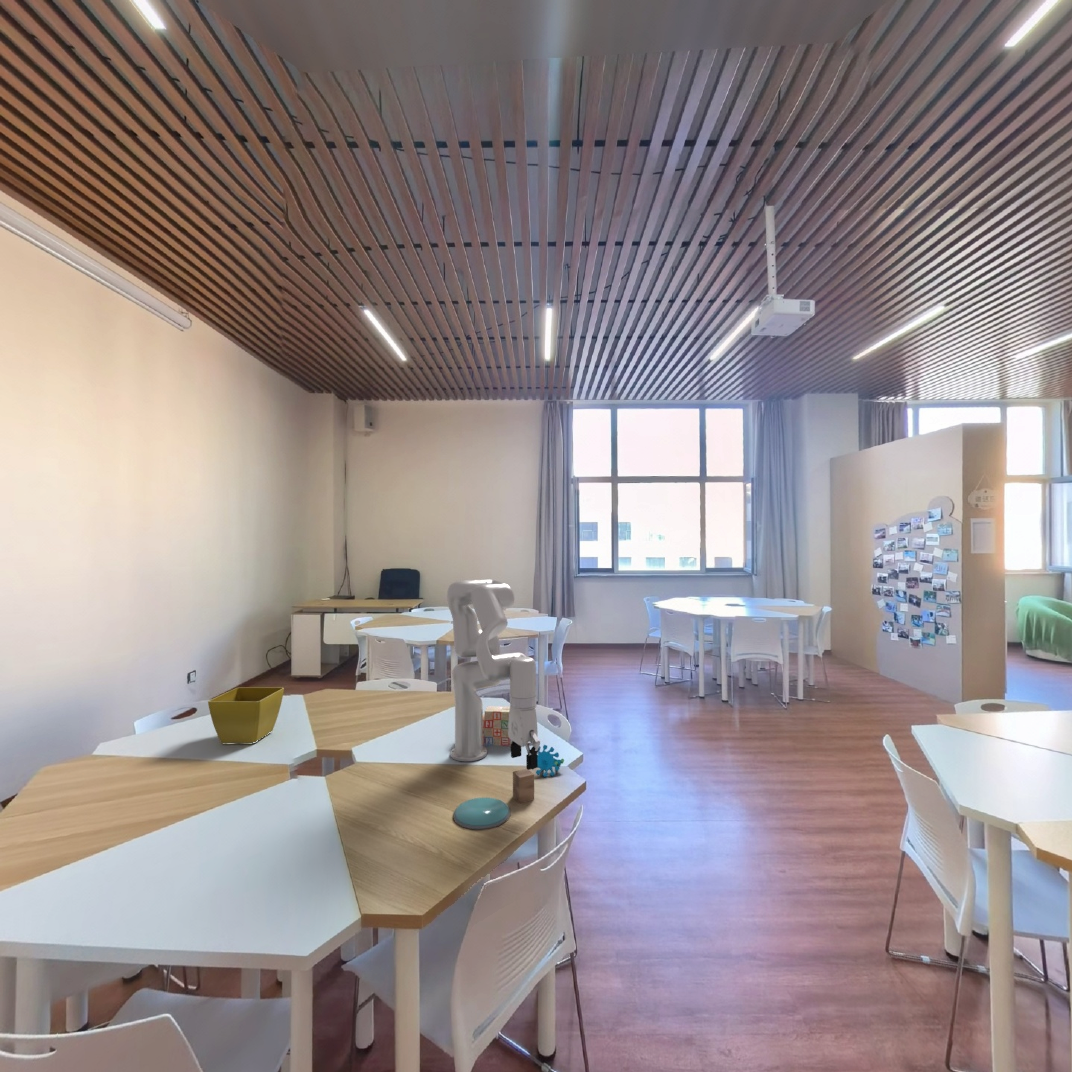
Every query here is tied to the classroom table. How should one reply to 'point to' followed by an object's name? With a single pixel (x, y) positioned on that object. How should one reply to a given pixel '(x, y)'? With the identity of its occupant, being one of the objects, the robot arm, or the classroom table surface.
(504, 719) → the stack of blocks
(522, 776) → the walnut block
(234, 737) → the flower pot
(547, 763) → the spiky teal germ figurine
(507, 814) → the teal domed disc
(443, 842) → the classroom table surface
